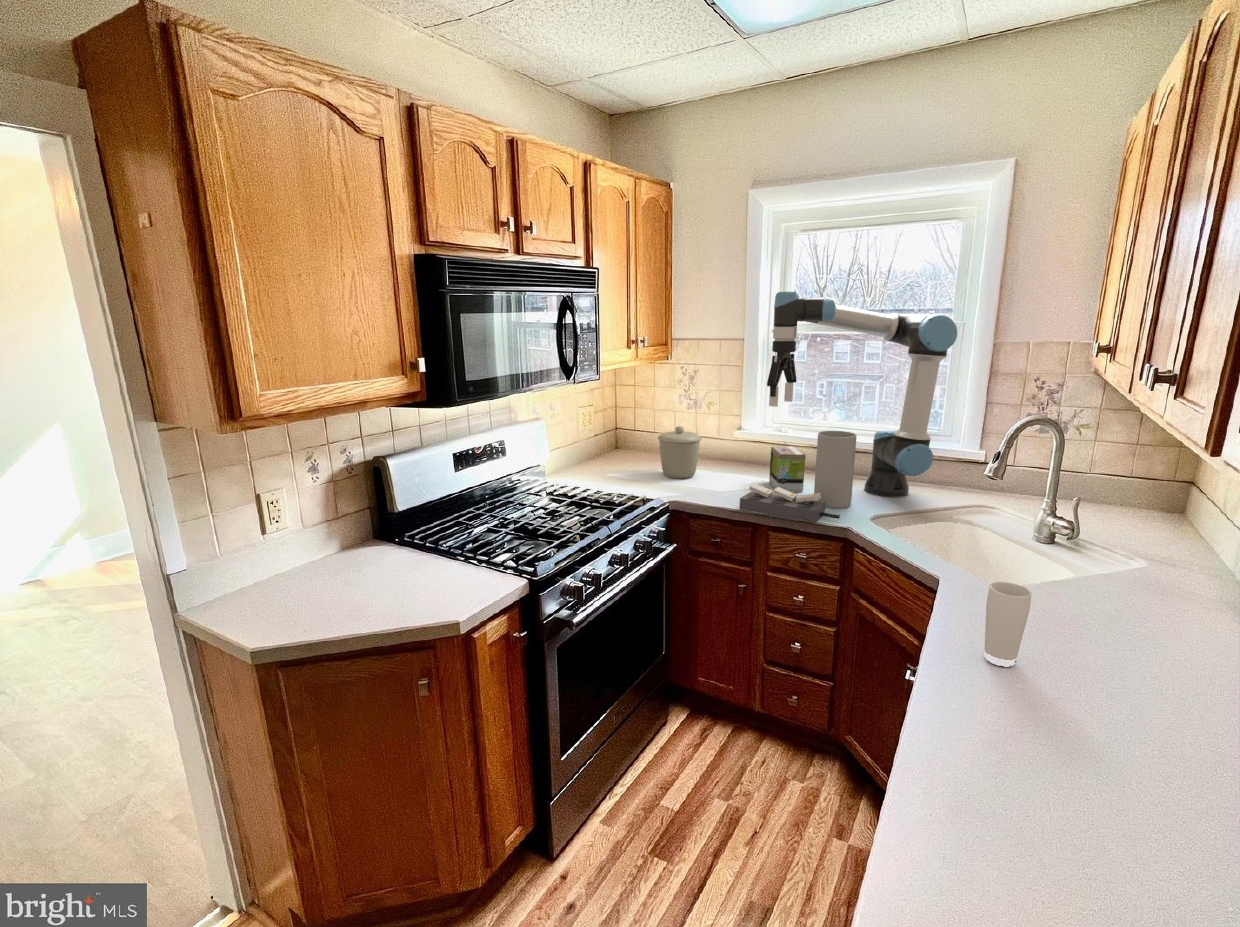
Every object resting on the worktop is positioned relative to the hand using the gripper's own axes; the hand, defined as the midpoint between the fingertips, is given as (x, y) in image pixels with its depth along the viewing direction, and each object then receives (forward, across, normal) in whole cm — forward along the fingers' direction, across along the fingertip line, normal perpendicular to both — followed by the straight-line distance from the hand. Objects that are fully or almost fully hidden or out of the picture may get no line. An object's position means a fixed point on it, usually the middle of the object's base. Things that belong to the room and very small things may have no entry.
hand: (781, 404), depth 207 cm
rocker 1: (+31, +5, -4) cm, 31 cm away
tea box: (+36, -24, -5) cm, 43 cm away
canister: (+36, -15, -48) cm, 62 cm away
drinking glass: (+36, +72, +73) cm, 109 cm away
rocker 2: (+31, +5, +5) cm, 31 cm away
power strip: (+35, +7, +8) cm, 37 cm away
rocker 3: (+31, +5, +13) cm, 34 cm away
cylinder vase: (+36, -11, +16) cm, 41 cm away
